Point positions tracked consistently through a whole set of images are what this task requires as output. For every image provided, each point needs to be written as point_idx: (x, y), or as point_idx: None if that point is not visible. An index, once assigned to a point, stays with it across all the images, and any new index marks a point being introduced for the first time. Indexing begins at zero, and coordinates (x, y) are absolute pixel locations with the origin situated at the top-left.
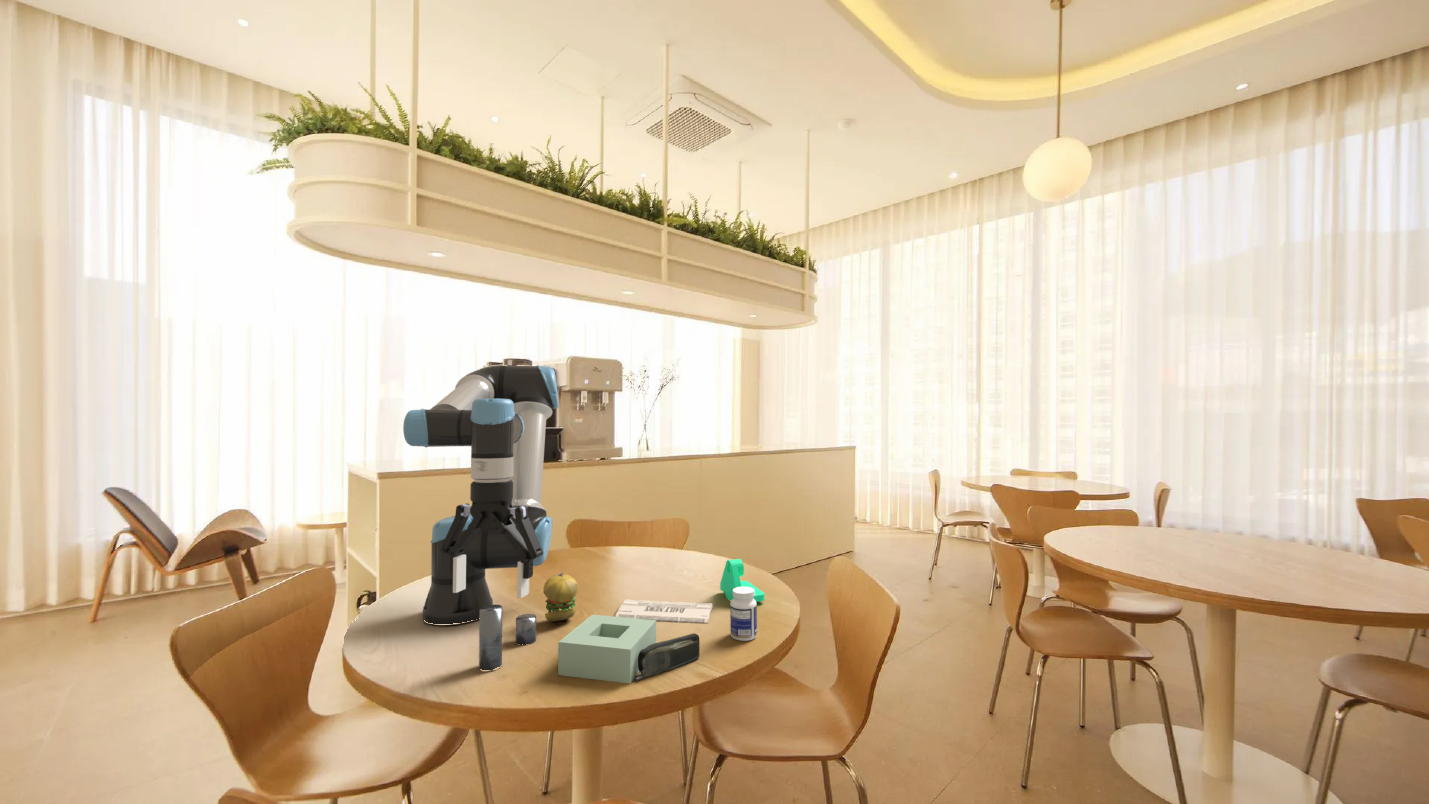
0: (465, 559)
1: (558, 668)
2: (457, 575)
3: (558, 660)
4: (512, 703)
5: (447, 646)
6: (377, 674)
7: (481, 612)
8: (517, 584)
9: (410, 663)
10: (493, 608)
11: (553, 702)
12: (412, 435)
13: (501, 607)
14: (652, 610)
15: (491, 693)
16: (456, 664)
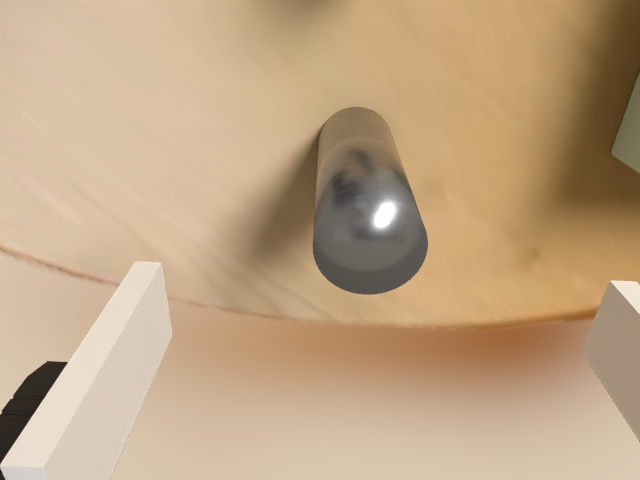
0: (70, 431)
1: (622, 160)
2: (134, 408)
3: (637, 171)
4: (517, 304)
5: (70, 12)
6: (53, 244)
7: (346, 287)
8: (622, 413)
9: (75, 169)
10: (385, 250)
11: None
12: None
13: (420, 229)
14: None
15: (441, 275)
16: (228, 147)
